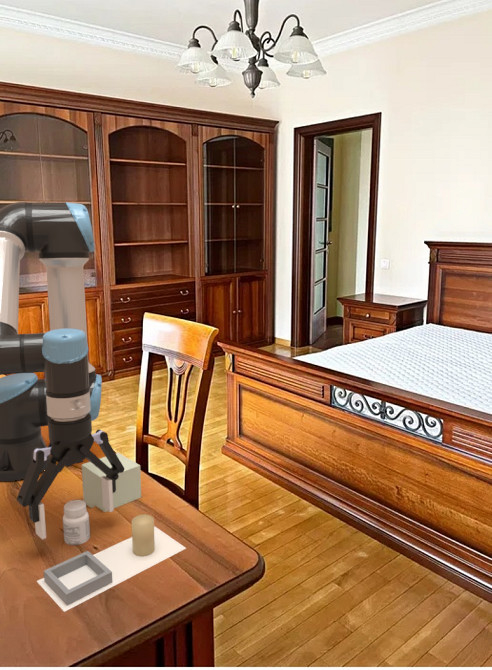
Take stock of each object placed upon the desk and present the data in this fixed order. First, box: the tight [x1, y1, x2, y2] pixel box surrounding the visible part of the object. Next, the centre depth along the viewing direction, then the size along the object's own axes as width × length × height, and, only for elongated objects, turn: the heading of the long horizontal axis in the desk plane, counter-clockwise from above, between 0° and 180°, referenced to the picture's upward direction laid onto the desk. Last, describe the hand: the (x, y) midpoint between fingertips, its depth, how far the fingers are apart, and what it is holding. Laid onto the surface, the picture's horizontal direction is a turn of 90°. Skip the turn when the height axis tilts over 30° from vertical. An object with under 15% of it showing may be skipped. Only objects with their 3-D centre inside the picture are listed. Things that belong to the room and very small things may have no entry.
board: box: [36, 514, 187, 613], centre depth 95 cm, size 10×24×8 cm, turn 134°
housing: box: [81, 452, 142, 513], centre depth 118 cm, size 9×9×9 cm
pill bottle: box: [62, 499, 91, 546], centre depth 103 cm, size 5×5×8 cm
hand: (76, 522), depth 102 cm, fingers open, 13 cm apart
